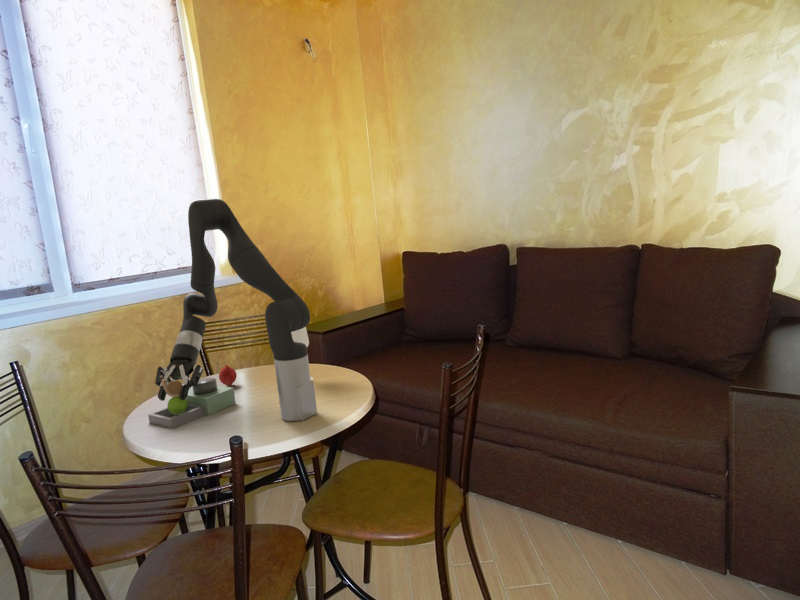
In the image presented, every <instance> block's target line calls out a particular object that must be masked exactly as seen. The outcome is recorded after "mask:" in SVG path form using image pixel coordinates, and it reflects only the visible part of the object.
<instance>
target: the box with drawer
mask: <svg viewBox="0 0 800 600" xmlns="http://www.w3.org/2000/svg"><path fill="white" fill-rule="evenodd" d="M185 399H186V400H187V403H188V406H187V409H186V410H185V411H184V412H183V413H182V414H179V415H175V416H174V417H171V416H173V415H174V414H172V413H170V412H169V410H168V407H167V406H166V407H165V408H162V409H159V410H156V411H154V412H151V413H149V414H147V415H148V422H149V423H150V424H153V425H157V426H162V427H166V428H170V429H174V428H177V427H179V426H182V425H183V424H186V423H187V422H190V421H193V420H194V419H195V420H196V419H198V418H200V417H202V416H204V415H207V416H208V415H212V414H214V413H216V412H218V411H221V410H223V409H226V408H228V407H230V406H233V405H235V404H236V396H235V391H234V387H231V386H225V385H224V386H222V385H218V384H217V378H214V377H205V378H200V379H199V382H198V384H197V386H192V387H191V388H189V391H188V395H187V397H186V398H185Z"/></svg>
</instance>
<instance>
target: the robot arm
mask: <svg viewBox="0 0 800 600" xmlns="http://www.w3.org/2000/svg"><path fill="white" fill-rule="evenodd" d="M187 221H188V222H187V223H188V231H189V233H188V234H189V243H190V252H191V271H190V273H191V274H190V288H191V289H192V290H194V291H195V292H198V293H195V292H190V293H188V294H186V295H185V296H184V298H183V302H182V310H183V312H182V313H183V317H182V323H181V325H180V326H181V327H180V329H179V332H178V335H177V337H176V339H175V342H174V345H173V348H172V352H171V354H170V357H169V358H170V359H169V363H168V365H167V366H165V367H162V366H159V367H157V370H156V376H155V380H154V384H155V385H156V386H157V387H158V388H159V390H158V394H157V398H158V400H160V401H161V402H162V401H163V402H164V401H165V400H166V397H167V395H168V394H167V393H166V392H165V390H164V388H163V385H162V383H161V380H162V379H165V380H166V384H167V386H168V384H169V382H170V381H172V380H178V381H180V380H182V388H181V391H180V394H179V398H180V399H181V400H185V398H186V397H187V395H188V391H189V389H191V388H193V387H192V386H197V384H198V382H199V380H200V379H201V377H202V374H203V373H204V370H205V369H204V368H203V367H202V365H200V364H197V362H198V358H199V355H200V351H201V347H202V342H203V338H204V334H205V331H206V328H207V325H206V321H205V320H203V319H202V318H200V317H203V318H211V317H214V316H215V315H216V313H217V311H218V308H219V307H218V305H219V304H218V299H217V295H216V291H215V276H216V266H215V261H214V258H213V256H212V255H211V252H210V251H209V249H208V248H207V246H206V242H205V235H206V234H205V233H206V232H207V231H214V230H215V231H217V230H219V231H221V232H222V233H223V234H224V235H225V237H226V239H227V241H228V247H227V259H228V263H229V265H230V267H231V268H232V269H233V271H234V272H235V274H237V276H238V277H239V279H240V280H242V281H243V282H244V283H245V284H246V285H248V286H250V287H252V288H254V289H256V290H257V291H259V292H262V294H265V295H266V296H268V297H270V298H271V300H272V302H270V303H268V305H267V306H266V308H265V311H264V319H265V320H264V321H265V326H266V332H267V337H268V343H269V346H270V350H271V351H272V355H273V362H274V368H275V378H276V385H277V393H278V401H279V402H278V403H279V409H280V416H281V419H282V420H283V421H287V422H298V421H302V422H303V421H306V419H309V418H311V417H313V416H314V415H316V414H318V410H317V400H316V391H315V383H314V380H312V381H311V379H310V377H311V372H310V365H309V364H310V363H309V354H308V347H306V345H305V344H304V343H299V342H294V341H293V338H292V334H291V332H293V331H296V330H300V329H302V328H304V327H306V328H307V326H308V325H309V324H310V322H311V314H310V311H309V307H308V306H307V304H306V303H305V301H304V300H303V299H302V298H301V296H299V294H298V293H296V291H295V290H293V289H292V287H291V286H290V285H289V284H288V283H286V281H285V280H284V279H283V278H282V277H281V275H280V274H279V273H278V272H277V271H276V269H275V268H274V267H273V266H272V265H271V263H270V262H269V261H268V259H267V258H266V256H265V255H264V254H263V252H262V251H261V250H260V249H259V247H257V246H256V244H255V243H254V242H253V240H252V239H251V238H250V236H249V235H248V234H247V233H246V231H245V230H244V228H243V227H242V225H241V224H240V222H239V221H238V219H237V217H236V216H235V214H234V212H233V210H231V208H230V205H228V204H227V202H226V201H224V200H222V199H221V198H220V199H219V198H208V199H207V198H206V199H195V200H193V201H191V202H190V204H189V206H188V214H187ZM197 316H200V317H197ZM191 374H192V375H191ZM161 375H163V377H161V378H160V376H161ZM190 375H191V376H190Z"/></svg>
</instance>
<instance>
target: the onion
mask: <svg viewBox="0 0 800 600" xmlns="http://www.w3.org/2000/svg"><path fill="white" fill-rule="evenodd" d="M218 380H219V381H220V383H222V384H223V385H224V386H226V387H231V386H232V385H233V383H234V382H235V381H236V380H237V372H236V370H235V368H233V367H231V366H229V364H228V363H225V365H224V366H223V367H222V369H220V372H219V374H218Z"/></svg>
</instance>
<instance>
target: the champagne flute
mask: <svg viewBox="0 0 800 600" xmlns="http://www.w3.org/2000/svg"><path fill="white" fill-rule="evenodd" d="M291 334H292V338H293V341H294V342H299V343H304V344H305V345H306V347H307V348H308V347H309V345H310V340H309V334H308V331H307V326H306V327H304V328H302V329H300V330H296V331H293V332H291ZM310 379H311V380H312V381H314V377H312V376H310Z"/></svg>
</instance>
